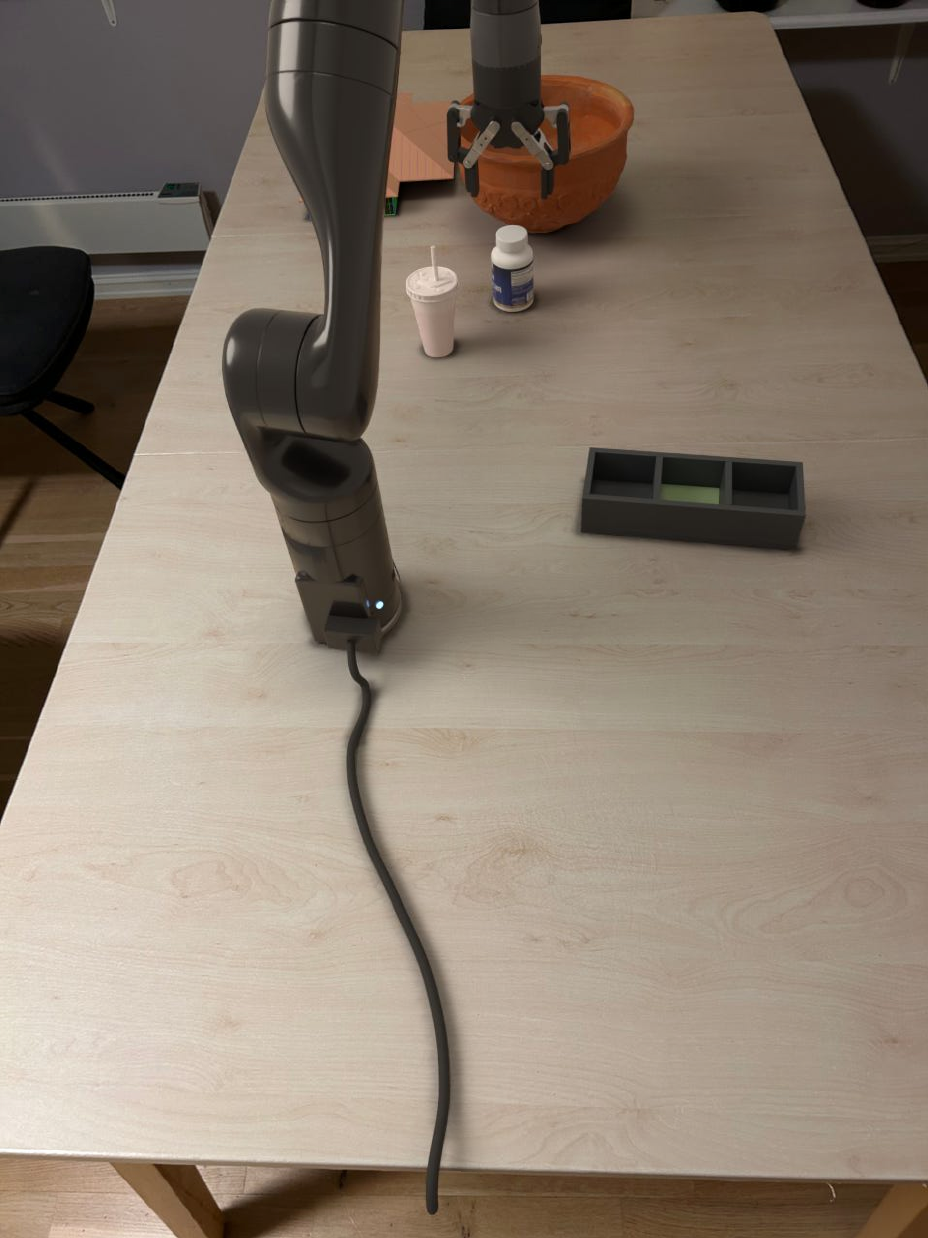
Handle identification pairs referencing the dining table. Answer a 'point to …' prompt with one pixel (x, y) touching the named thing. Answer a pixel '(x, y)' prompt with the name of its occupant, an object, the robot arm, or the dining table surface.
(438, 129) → the house
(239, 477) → the dining table surface
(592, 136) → the bowl
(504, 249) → the pill bottle
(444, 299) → the smoothie
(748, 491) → the rack
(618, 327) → the dining table surface
